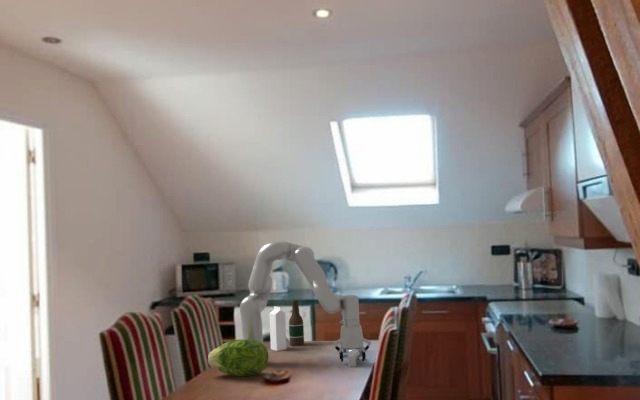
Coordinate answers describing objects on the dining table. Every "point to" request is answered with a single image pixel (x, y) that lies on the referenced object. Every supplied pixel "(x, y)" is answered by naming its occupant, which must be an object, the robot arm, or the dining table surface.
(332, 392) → the dining table surface
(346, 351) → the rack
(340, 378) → the dining table surface
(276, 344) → the milk
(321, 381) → the dining table surface
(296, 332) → the beer bottle
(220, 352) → the lettuce
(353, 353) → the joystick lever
